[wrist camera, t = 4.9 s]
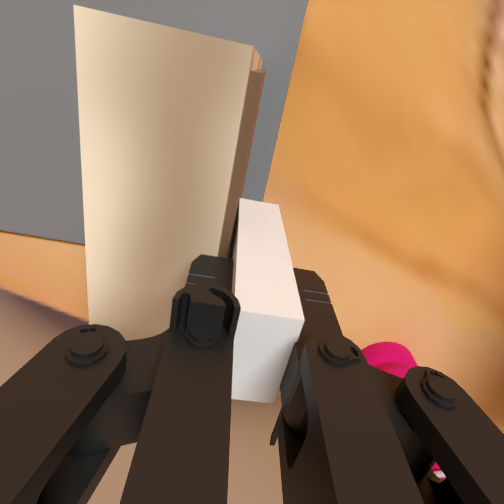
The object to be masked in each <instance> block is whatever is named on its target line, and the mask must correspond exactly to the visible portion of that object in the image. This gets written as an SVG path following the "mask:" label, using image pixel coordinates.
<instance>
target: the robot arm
mask: <svg viewBox="0 0 504 504" xmlns="http://www.w3.org/2000/svg"><path fill="white" fill-rule="evenodd" d="M327 293H328V292H327V289H326V287H325V284H324V281H323V280H322V279H321V278H320V277H319V276H318V275H317V274H316V273H315V272H314V271H310V270H304V269H297V268H293V267H292V262H291V258H290V253H289V249H288V245H287V240H286V236H285V231H284V227H283V223H282V218H281V214H280V210H279V205H276V204H271V203H265V202H260V201H254V200H249V199H243V198H240V199H239V204H238V210H237V215H236V220H235V225H234V231H233V236H232V241H231V247H230V252H229V257H228V258H222V257H216V256H210V255H204V254H201V255H199V256H198V257H197V258H196V259H195V260H193V261H192V263H191V266H190V270H189V274H188V277H187V281H186V284H185V287H184V288H182V289H180V290H178V291H177V292H176V294H175V295H174V297H173V298H172V307H171V317H170V327H169V329H167V330H166V331H164V332H163V333H161V334H158V335H156V336H153V337H149V338H144V339H136V340H127V341H125V339H124V337H123V336H122V335H121V333H120V332H119V331H117V330H115V329H113V328H111V327H109V326H105V325H98V324H90V325H80V326H77V327H75V328H72V329H69V330H66V331H64V332H63V333H61V334H60V335H58V336H57V337H55V338H54V339H53V340H52V341H51V342H50V343H48V344H47V345H46V346H45V347H44V348H43V349H42V350H41V351H39V352H38V353H37V354H36V355H35V356H34V357H33V358H32V359H31V360H30V361H29V362H27V364H25V365H24V366H23V367H22V368H21V369H20V370H18V371H17V372H16V373H15V374H14V375H13V376H12V377H11V378H10V379H9V380H8V381H7V382H5V383H4V384H3V385H2V386H1V387H0V504H87V502H88V501H89V499H90V497H91V496H92V494H93V492H94V491H95V489H96V487H97V486H98V484H99V482H100V481H101V479H102V477H103V475H104V474H105V472H106V470H107V468H108V467H109V465H110V464H111V462H112V460H113V458H114V457H115V455H116V453H117V452H118V450H119V448H120V446H122V445H126V444H131V443H135V442H137V445H136V449H135V453H134V456H133V459H132V463H131V466H130V470H129V473H128V477H127V480H126V484H125V487H124V491H123V494H122V498H121V501H120V504H227V492H228V491H227V489H228V468H229V444H230V442H229V441H230V420H231V419H230V418H231V399H238V400H246V401H255V402H263V403H272V404H275V403H276V400H277V397H278V394H279V392H281V402H282V408H281V410H280V413H279V416H278V418H277V421H276V424H275V427H274V429H273V432H272V435H271V440H270V445H275V442H276V440H277V437H278V443H279V456H280V467H281V480H282V492H283V503H284V504H504V434H503V433H502V432H501V431H500V430H499V429H498V427H497V426H496V425H495V424H494V423H493V422H492V421H491V420H490V419H489V417H488V416H487V415H486V414H485V413H484V412H483V411H482V410H481V408H480V407H479V406H478V405H477V404H476V403H475V402H474V401H473V400H472V398H471V397H470V396H469V395H468V394H467V393H466V392H465V391H464V390H463V389H462V388H461V387H460V386H459V385H458V384H457V383H456V382H455V381H454V380H452V379H451V378H449V377H448V376H446V375H444V374H443V373H441V372H439V371H436V370H434V369H431V368H429V367H420V366H416V367H413V368H410V369H409V370H408V371H407V373H406V374H405V376H404V378H401V377H398V376H396V375H393V374H390V373H388V372H385V371H383V370H380V369H377V368H375V367H373V366H371V365H369V364H368V363H367V360H366V358H365V356H364V354H363V353H362V351H361V350H360V348H359V347H358V346H357V345H355V344H354V343H353V342H352V341H351V340H349V339H347V338H346V337H344V336H343V334H342V332H341V329H340V326H339V323H338V320H337V317H336V315H335V312H334V309H333V306H332V304H331V301H330V298H329V295H327ZM435 463H437V464H438V466H439V467H440V469H441V470H442V472H443V473H444V475H445V476H446V478H445V479H444V480H442V479H440V478H439V477H437V476H436V474H435V473H434V472H433V471H432V469H431V468H432V467H433V466H434V464H435Z"/></svg>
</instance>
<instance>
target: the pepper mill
mask: <svg viewBox="0 0 504 504" xmlns="http://www.w3.org/2000/svg"><path fill="white" fill-rule="evenodd" d="M362 353H363V354H364V356H365V358H366V360H367V363H368V364H369V365H371V366H373V367H375V368H377V369H380V370H383V371H385V372H388V373H390V374H393V375H396V376H398V377H401V378H404V376H405V374H406V373H407V371H408V370H409V369H410V368H413V367H416V366H417V364H416V362H415V360H414V358H413V356H412V355H411V353H410V351H409V350H408V349H407V348H406V347H404V346H403V345H400V344H397V343H392V342H383V343H377V344H374V345H371V346H369V347H367V348H365V349H364V350H362ZM431 469H432V471H433V472H434V473H435V474H436V476H437V477H439V478H440V479H442V480H444V479H445V478H446V476H445V475H444V473H443V472H442V470H441V469H440V467H439V466H438V464H437V463H435V464H434V466H433V467H432V468H431Z"/></svg>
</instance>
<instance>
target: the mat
mask: <svg viewBox="0 0 504 504" xmlns="http://www.w3.org/2000/svg"><path fill="white" fill-rule="evenodd" d="M307 2H308V0H0V230H2V231H8V232H14V233H20V234H26V235H32V236H39V237H45V238H51V239H57V240H63V241H69V242H75V243H81V244H85V230H84V210H83V190H82V169H81V149H80V129H79V109H78V88H77V68H76V48H75V28H74V8H73V5H77V6H82V7H86V8H90V9H95V10H99V11H103V12H108V13H112V14H116V15H121V16H125V17H129V18H134V19H138V20H142V21H147V22H151V23H155V24H160V25H164V26H168V27H173V28H177V29H181V30H186V31H190V32H194V33H199V34H203V35H207V36H212V37H216V38H220V39H225V40H229V41H233V42H238V43H242V44H246V45H251V46H254V48H255V49H256V51H257V53H258V54H259V56H260V57H261V59H262V60H263V63H262V68H261V70H265V71H266V72H265V77H264V82H263V87H262V93H261V98H260V103H259V108H258V113H257V119H256V124H255V129H254V134H253V139H252V145H251V150H250V155H249V160H248V165H247V171H246V176H245V181H244V186H243V191H242V197H241V198H243V199H249V200H254V201H260V202H263V197H264V193H265V188H266V184H267V180H268V175H269V171H270V166H271V162H272V157H273V153H274V149H275V144H276V140H277V135H278V131H279V126H280V122H281V118H282V113H283V109H284V104H285V100H286V95H287V91H288V87H289V82H290V78H291V73H292V69H293V64H294V60H295V56H296V51H297V47H298V42H299V38H300V33H301V29H302V25H303V20H304V16H305V11H306V7H307Z"/></svg>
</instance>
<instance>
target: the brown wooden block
mask: <svg viewBox="0 0 504 504" xmlns="http://www.w3.org/2000/svg"><path fill="white" fill-rule="evenodd" d="M73 8H74V28H75V48H76V68H77V88H78V109H79V129H80V149H81V169H82V190H83V210H84V230H85V250H86V271H87V291H88V311H89V325H90V324H98V325H105V326H109V327H111V328H113V329H115V330H117V331H119V332H120V333H121V335H122V336H123V337H124V339H125V341H127V340H136V339H144V338H149V337H153V336H156V335H158V334H161V333H163V332H164V331H166V330H167V329H169V327H170V317H171V307H172V298H173V297H174V295H175V294H176V292H177V291H178V290H180V289H182V288H184V287H185V284H186V281H187V277H188V274H189V270H190V266H191V263H192V261H193V260H195V259H196V258H197V257H198V256H199V255H201V254H204V255H210V256H216V257H222V258H228V257H229V252H230V247H231V241H232V236H233V231H234V225H235V220H236V215H237V210H238V204H239V199H240V198H241V197H242V191H243V186H244V181H245V176H246V171H247V165H248V160H249V155H250V150H251V145H252V139H253V134H254V129H255V124H256V119H257V113H258V108H259V103H260V98H261V93H262V87H263V82H264V77H265V72H266V71H265V70H261V68H262V63H263V60H262V59H261V57H260V56H259V54H258V53H257V51H256V49H255V48H254V46H251V45H246V44H242V43H238V42H233V41H229V40H225V39H220V38H216V37H212V36H207V35H203V34H199V33H194V32H190V31H186V30H181V29H177V28H173V27H168V26H164V25H160V24H155V23H151V22H147V21H142V20H138V19H134V18H129V17H125V16H121V15H116V14H112V13H108V12H103V11H99V10H95V9H90V8H86V7H82V6H77V5H73Z"/></svg>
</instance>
